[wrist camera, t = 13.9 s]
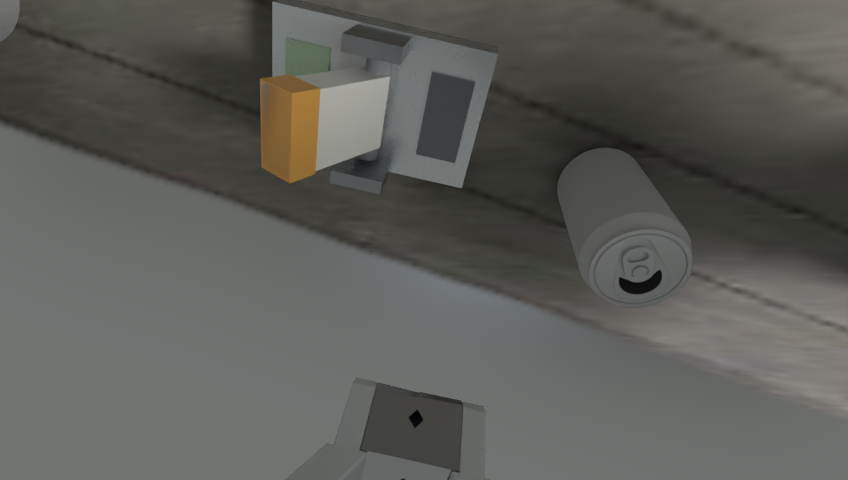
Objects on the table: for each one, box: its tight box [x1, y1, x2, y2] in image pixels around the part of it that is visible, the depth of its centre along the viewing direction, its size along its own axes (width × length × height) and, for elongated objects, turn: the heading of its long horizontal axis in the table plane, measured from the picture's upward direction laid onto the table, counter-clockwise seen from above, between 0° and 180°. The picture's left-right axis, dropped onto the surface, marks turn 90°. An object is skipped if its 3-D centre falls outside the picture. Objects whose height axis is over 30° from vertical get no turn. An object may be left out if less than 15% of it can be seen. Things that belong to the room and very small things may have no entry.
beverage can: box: [557, 148, 693, 308], centre depth 31 cm, size 6×6×12 cm
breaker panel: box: [272, 0, 498, 195], centre depth 31 cm, size 15×10×6 cm, turn 79°
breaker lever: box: [260, 57, 391, 183], centre depth 28 cm, size 2×7×9 cm, turn 168°
